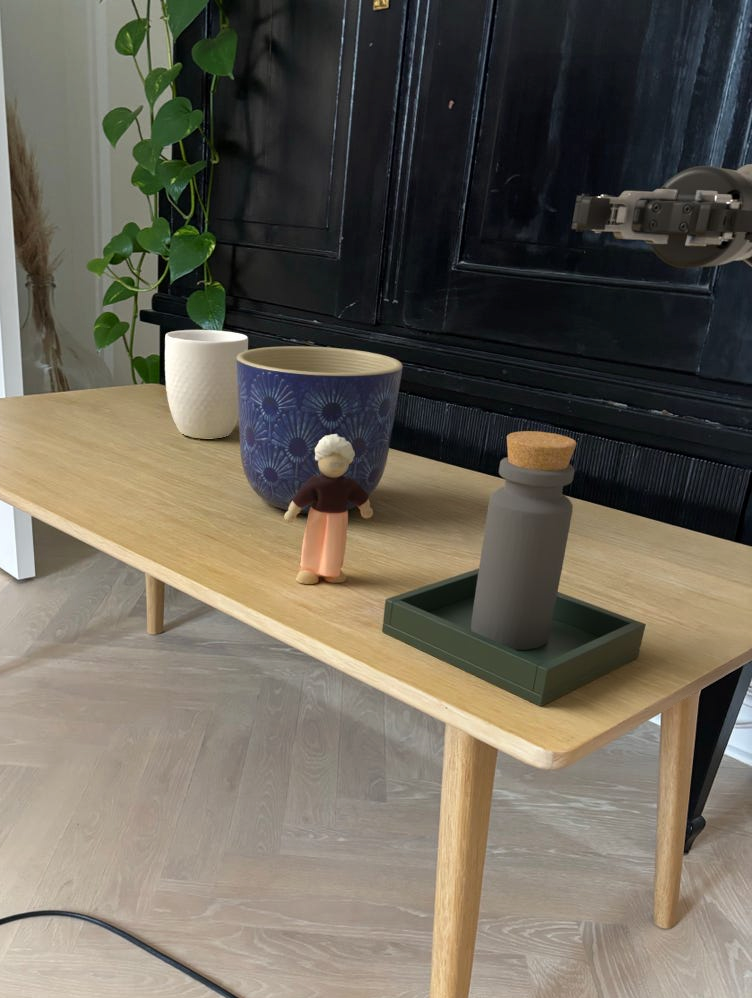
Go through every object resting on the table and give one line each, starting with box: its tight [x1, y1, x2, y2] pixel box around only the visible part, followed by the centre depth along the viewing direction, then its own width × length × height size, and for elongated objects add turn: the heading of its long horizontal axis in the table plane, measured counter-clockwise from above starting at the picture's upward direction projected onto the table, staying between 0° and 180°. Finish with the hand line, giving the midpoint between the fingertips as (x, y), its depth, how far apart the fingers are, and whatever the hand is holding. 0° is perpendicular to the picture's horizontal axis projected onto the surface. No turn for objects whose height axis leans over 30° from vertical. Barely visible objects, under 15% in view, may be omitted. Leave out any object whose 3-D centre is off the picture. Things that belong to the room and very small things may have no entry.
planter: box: [236, 345, 404, 515], centre depth 99 cm, size 17×17×15 cm
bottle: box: [471, 430, 577, 650], centre depth 68 cm, size 6×6×15 cm
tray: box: [381, 567, 647, 707], centre depth 71 cm, size 15×13×3 cm
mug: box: [164, 329, 249, 438], centre depth 128 cm, size 15×11×13 cm
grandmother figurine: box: [283, 434, 374, 585], centre depth 80 cm, size 8×4×13 cm, turn 114°
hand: (641, 216), depth 67 cm, fingers open, 8 cm apart
